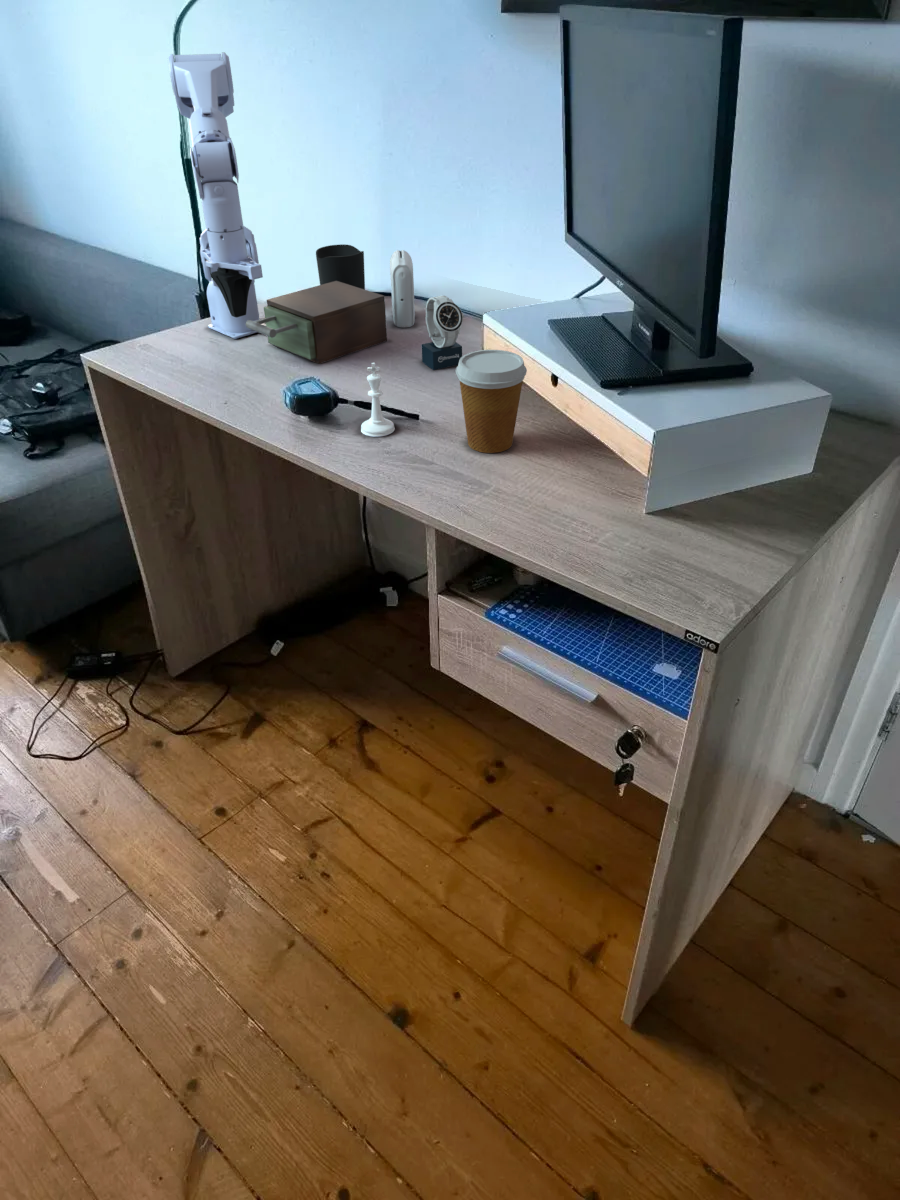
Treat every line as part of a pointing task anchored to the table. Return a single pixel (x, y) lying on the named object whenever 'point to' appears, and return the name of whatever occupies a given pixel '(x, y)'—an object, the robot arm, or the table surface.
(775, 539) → the table surface
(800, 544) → the table surface
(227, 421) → the table surface
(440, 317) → the watch
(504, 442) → the disposable coffee cup
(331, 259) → the pen holder
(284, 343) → the drawer
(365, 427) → the chess piece
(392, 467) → the table surface
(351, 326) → the cabinet
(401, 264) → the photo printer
